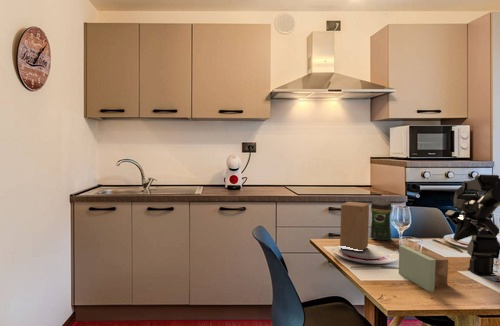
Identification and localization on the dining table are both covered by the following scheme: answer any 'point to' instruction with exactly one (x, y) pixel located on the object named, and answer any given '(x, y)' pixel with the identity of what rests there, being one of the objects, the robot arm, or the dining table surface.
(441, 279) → the walnut block
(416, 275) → the stop board
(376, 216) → the coffee jar
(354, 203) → the wooden block
